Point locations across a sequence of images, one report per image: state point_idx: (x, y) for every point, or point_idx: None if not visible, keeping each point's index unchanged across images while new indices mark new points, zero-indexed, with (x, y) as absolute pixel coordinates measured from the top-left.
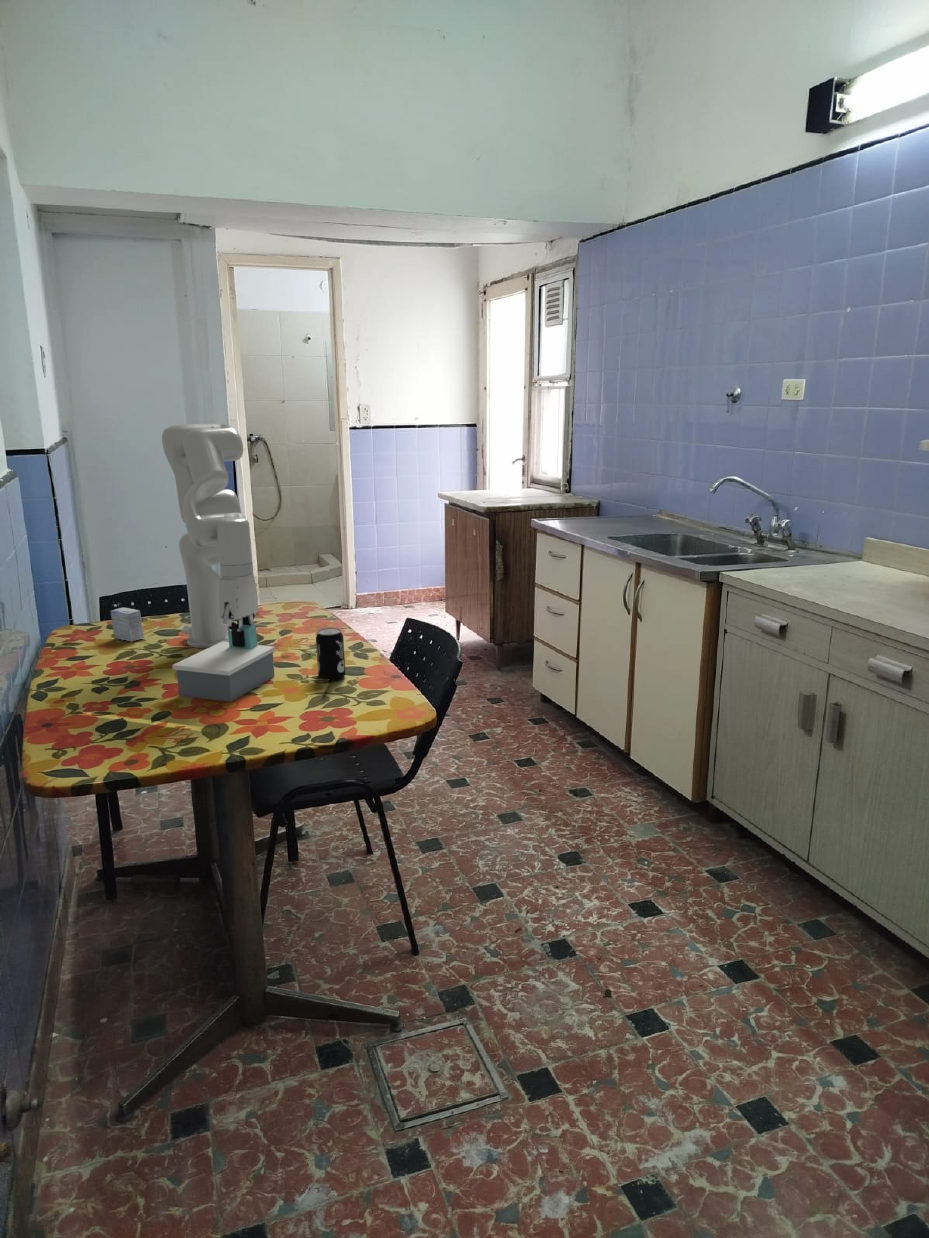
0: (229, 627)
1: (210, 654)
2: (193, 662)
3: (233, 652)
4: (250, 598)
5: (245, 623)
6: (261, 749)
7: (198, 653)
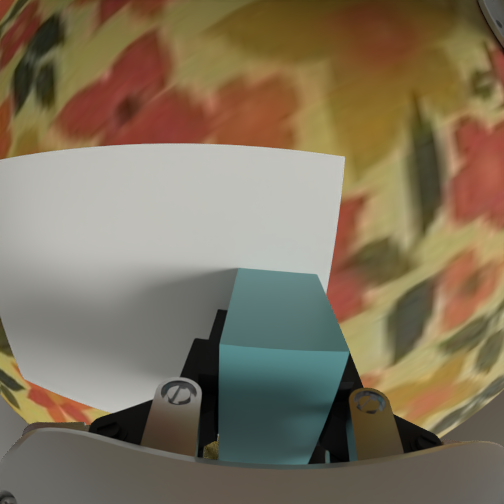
0: (117, 418)
1: (92, 233)
2: (7, 224)
3: (159, 333)
4: None
5: (335, 433)
6: (17, 405)
7: (88, 156)
